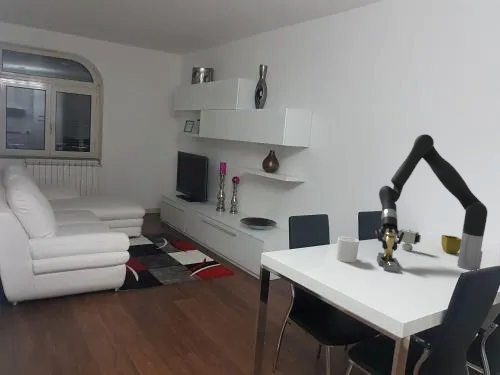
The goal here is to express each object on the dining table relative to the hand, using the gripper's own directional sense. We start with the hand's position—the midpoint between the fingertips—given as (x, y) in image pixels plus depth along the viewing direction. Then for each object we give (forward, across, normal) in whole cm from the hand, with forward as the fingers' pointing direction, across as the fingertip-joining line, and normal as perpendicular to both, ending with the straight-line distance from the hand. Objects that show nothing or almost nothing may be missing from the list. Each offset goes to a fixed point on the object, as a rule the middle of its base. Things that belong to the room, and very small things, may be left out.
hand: (389, 249), depth 186 cm
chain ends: (+4, 0, +7) cm, 8 cm away
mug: (+5, -19, +6) cm, 21 cm away
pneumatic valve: (-21, +16, +33) cm, 42 cm away
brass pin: (+3, 0, +6) cm, 7 cm away
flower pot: (-27, +41, +38) cm, 62 cm away
